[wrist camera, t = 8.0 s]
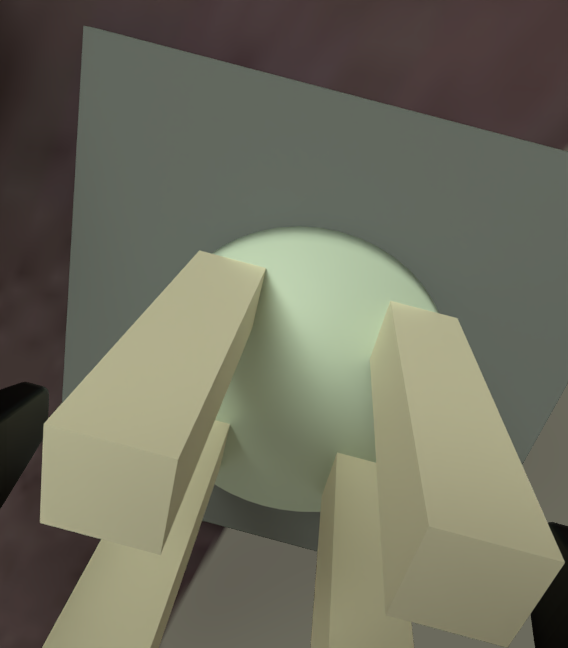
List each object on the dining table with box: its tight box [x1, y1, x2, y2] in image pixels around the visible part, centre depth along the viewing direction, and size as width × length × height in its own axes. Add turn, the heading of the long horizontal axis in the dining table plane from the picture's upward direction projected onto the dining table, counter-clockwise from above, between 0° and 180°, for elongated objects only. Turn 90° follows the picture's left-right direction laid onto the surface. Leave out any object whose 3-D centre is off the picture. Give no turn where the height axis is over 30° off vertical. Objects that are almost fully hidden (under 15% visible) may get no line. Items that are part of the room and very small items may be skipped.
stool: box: [40, 226, 565, 648], centre depth 10 cm, size 7×7×7 cm
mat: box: [62, 26, 568, 552], centre depth 13 cm, size 12×12×1 cm
